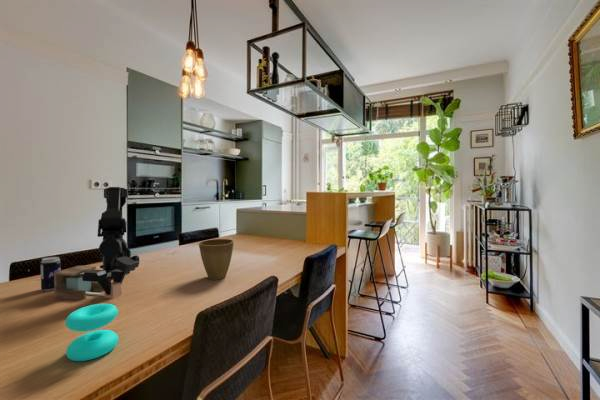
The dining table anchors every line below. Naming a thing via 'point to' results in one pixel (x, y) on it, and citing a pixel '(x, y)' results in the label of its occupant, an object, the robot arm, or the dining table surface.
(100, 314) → the donuts
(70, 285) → the tethered block
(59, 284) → the shelf lane
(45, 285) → the beverage can
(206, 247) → the plant pot
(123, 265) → the robot arm
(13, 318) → the dining table surface
